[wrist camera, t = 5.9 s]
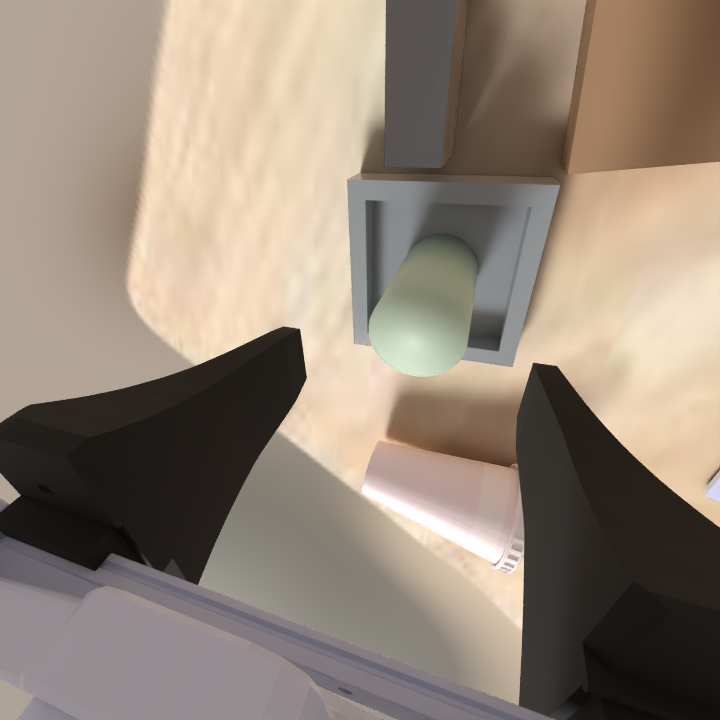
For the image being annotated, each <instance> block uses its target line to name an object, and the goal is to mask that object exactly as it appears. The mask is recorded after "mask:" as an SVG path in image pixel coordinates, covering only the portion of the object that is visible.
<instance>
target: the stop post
mask: <svg viewBox="0 0 720 720" xmlns="http://www.w3.org/2000/svg"><path fill="white" fill-rule="evenodd" d="M468 6H469V0H386V62H385V154H384V167H401V168H442V166H443V165H444V164H445V163H446V162H447V160H448V159H449V158H450V157H451V156H452V155H453V149H454V139H455V130H456V120H457V111H458V101H459V92H460V82H461V72H462V63H463V53H464V44H465V34H466V25H467V15H468Z"/></svg>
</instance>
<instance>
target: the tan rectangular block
mask: <svg viewBox="0 0 720 720" xmlns="http://www.w3.org/2000/svg"><path fill="white" fill-rule="evenodd" d="M708 162H720V0H587V2H586V8H585V15H584V21H583V28H582V34H581V41H580V47H579V54H578V60H577V67H576V73H575V80H574V86H573V93H572V99H571V106H570V112H569V119H568V125H567V132H566V138H565V145H564V151H563V158H562V164H561V166H562V168H563V169H564V170H565V171H566V173H567V174H577V173H589V172H601V171H613V170H625V169H637V168H649V167H660V166H672V165H684V164H696V163H708Z"/></svg>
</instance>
